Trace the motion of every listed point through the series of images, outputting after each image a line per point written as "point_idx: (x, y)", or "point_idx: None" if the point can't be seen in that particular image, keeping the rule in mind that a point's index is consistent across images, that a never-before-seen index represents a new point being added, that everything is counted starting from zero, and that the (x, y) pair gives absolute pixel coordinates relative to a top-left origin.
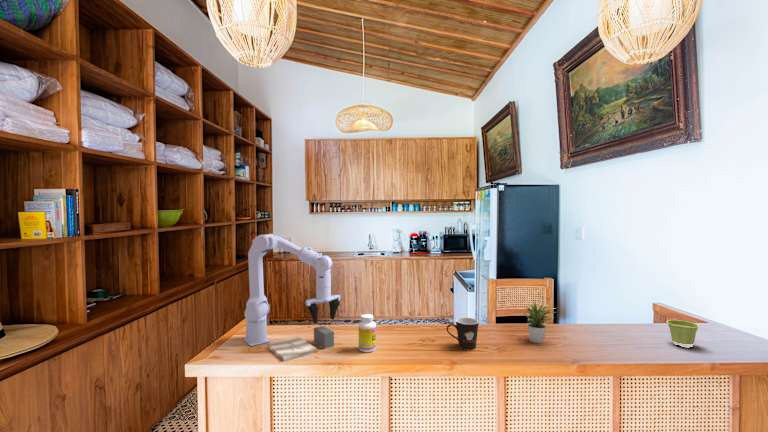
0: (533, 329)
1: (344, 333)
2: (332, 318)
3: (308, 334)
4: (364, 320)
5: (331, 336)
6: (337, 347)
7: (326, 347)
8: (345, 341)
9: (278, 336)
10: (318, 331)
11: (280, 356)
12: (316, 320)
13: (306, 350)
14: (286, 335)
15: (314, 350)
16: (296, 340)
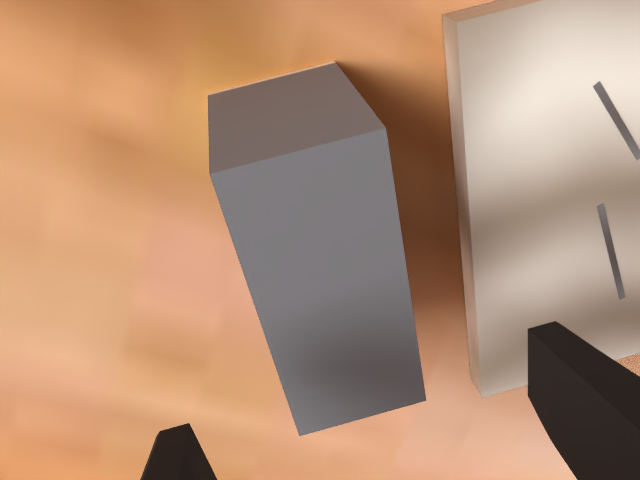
0: None
1: (10, 410)
2: (193, 446)
3: (358, 459)
4: None
5: (251, 135)
6: (169, 47)
7: (314, 71)
8: (28, 198)
9: (569, 470)
10: (407, 293)
11: None
12: (579, 352)
13: (584, 25)
14: (514, 475)
15: (490, 10)
16: None
